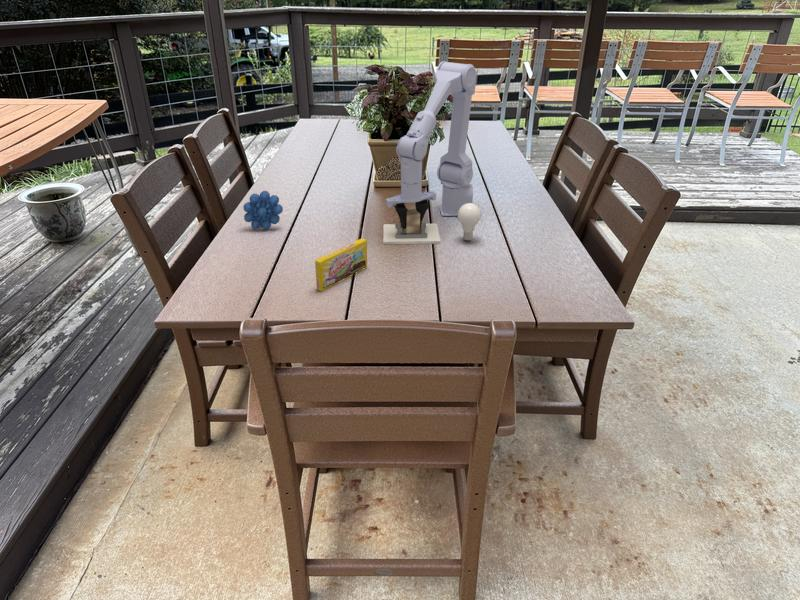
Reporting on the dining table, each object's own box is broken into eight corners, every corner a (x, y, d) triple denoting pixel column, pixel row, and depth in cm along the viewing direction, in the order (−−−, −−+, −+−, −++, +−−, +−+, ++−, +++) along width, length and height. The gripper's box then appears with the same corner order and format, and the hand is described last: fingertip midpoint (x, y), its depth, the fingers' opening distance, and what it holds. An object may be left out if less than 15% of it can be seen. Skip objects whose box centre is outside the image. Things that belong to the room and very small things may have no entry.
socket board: (436, 226, 164) (437, 219, 163) (440, 243, 153) (440, 237, 152) (383, 226, 163) (383, 220, 162) (383, 244, 153) (383, 237, 152)
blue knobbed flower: (287, 223, 166) (283, 185, 159) (284, 232, 160) (279, 193, 154) (249, 223, 166) (243, 185, 159) (244, 233, 160) (237, 194, 153)
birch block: (414, 227, 160) (414, 208, 157) (419, 232, 157) (420, 213, 154) (401, 229, 159) (401, 210, 156) (407, 235, 156) (407, 215, 153)
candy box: (322, 292, 131) (319, 262, 127) (316, 290, 132) (313, 259, 128) (368, 268, 142) (367, 239, 137) (362, 265, 143) (361, 236, 138)
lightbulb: (481, 237, 157) (483, 201, 151) (476, 246, 152) (479, 209, 146) (459, 234, 159) (461, 198, 153) (454, 243, 154) (456, 206, 148)
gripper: (429, 173, 155) (428, 217, 162) (381, 179, 151) (382, 224, 158) (440, 180, 150) (438, 226, 157) (390, 187, 145) (391, 234, 152)
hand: (411, 226), depth 157 cm, fingers open, 4 cm apart
